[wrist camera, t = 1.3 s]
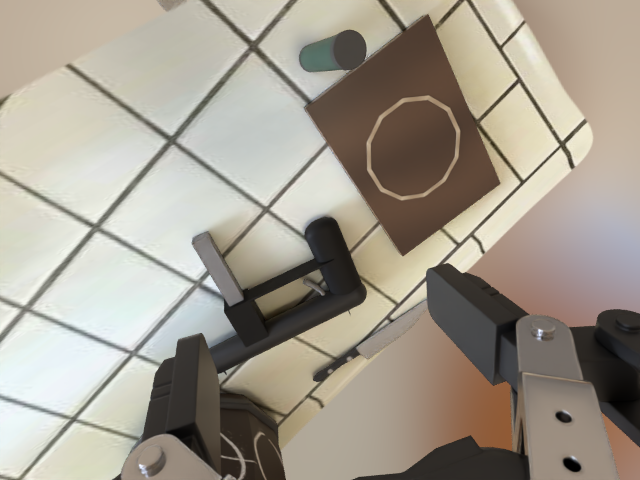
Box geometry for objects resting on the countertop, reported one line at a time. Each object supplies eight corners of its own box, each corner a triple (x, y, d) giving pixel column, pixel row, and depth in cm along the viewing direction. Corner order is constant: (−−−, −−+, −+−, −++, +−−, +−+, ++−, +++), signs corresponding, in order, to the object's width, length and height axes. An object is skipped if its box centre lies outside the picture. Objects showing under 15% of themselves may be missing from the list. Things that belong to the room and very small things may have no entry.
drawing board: (303, 107, 35) (305, 108, 34) (423, 15, 35) (429, 13, 34) (399, 253, 44) (403, 257, 43) (495, 181, 44) (501, 183, 43)
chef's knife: (441, 307, 50) (434, 292, 48) (446, 312, 49) (439, 297, 47) (321, 387, 49) (310, 375, 48) (323, 393, 48) (312, 381, 47)
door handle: (132, 273, 35) (215, 391, 41) (325, 183, 36) (376, 310, 43) (139, 260, 38) (215, 371, 44) (318, 177, 39) (366, 297, 46)
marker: (293, 54, 33) (326, 44, 23) (313, 38, 33) (355, 21, 23) (307, 78, 34) (345, 77, 25) (327, 62, 34) (373, 55, 24)
